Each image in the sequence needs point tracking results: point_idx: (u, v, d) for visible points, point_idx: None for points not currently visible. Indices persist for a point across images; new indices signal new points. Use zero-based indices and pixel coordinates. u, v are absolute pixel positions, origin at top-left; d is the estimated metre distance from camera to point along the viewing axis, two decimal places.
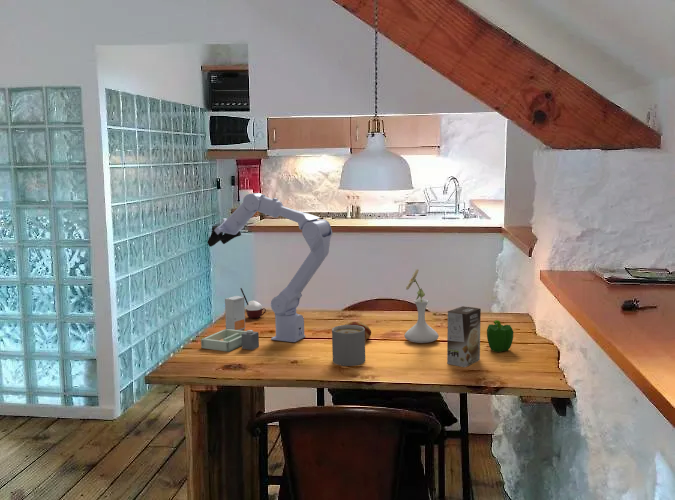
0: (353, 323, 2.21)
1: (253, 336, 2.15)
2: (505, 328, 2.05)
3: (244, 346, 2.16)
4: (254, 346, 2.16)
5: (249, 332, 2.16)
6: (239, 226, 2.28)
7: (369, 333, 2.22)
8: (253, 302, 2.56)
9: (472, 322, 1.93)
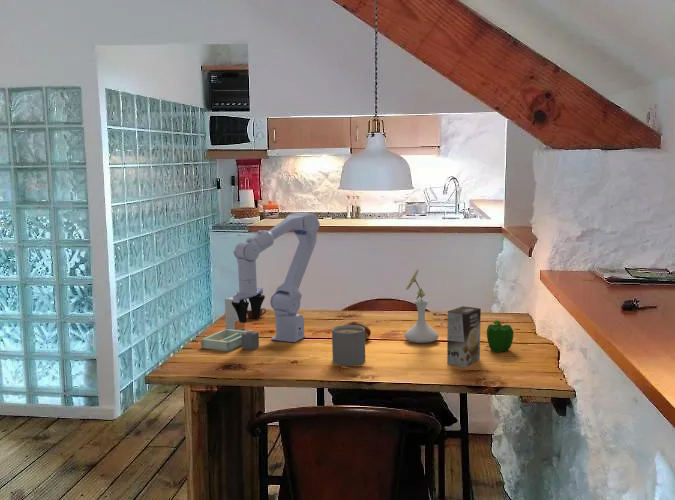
0: (353, 323, 2.21)
1: (253, 336, 2.15)
2: (505, 328, 2.05)
3: (244, 346, 2.16)
4: (254, 346, 2.16)
5: (249, 332, 2.16)
6: (252, 283, 2.12)
7: (369, 333, 2.22)
8: None
9: (472, 322, 1.93)
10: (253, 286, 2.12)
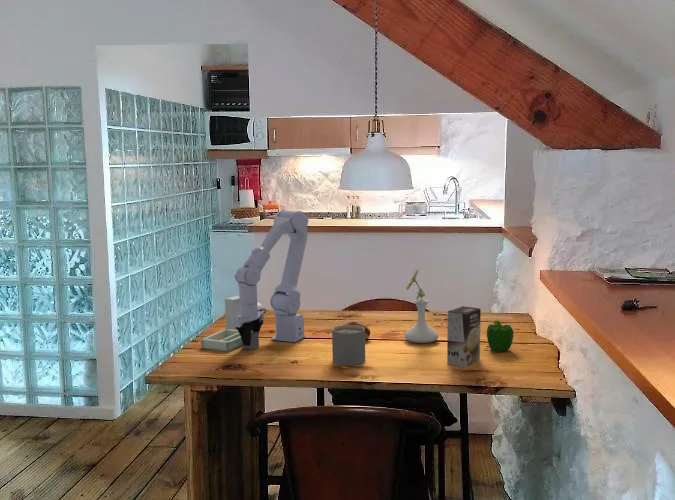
0: (352, 323, 2.22)
1: (253, 336, 2.15)
2: (505, 328, 2.05)
3: (244, 346, 2.16)
4: (254, 346, 2.16)
5: None
6: (253, 307, 2.13)
7: (368, 333, 2.22)
8: None
9: (472, 322, 1.93)
10: (254, 310, 2.14)
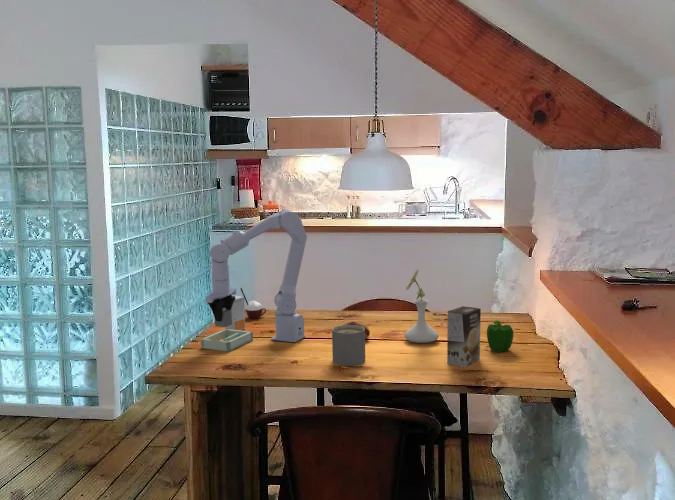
0: (351, 323, 2.22)
1: (225, 314, 2.19)
2: (505, 328, 2.05)
3: (217, 323, 2.20)
4: (227, 323, 2.20)
5: (222, 310, 2.20)
6: (225, 283, 2.17)
7: (367, 333, 2.22)
8: (253, 302, 2.56)
9: (472, 322, 1.93)
10: (226, 286, 2.18)
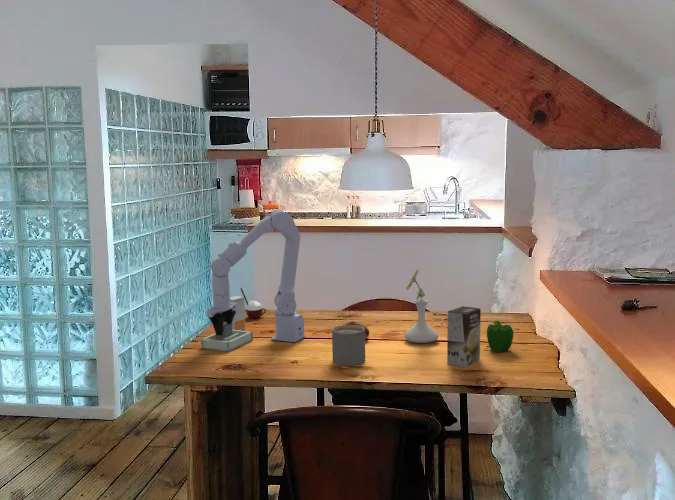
0: (351, 323, 2.22)
1: (226, 328, 2.20)
2: (505, 328, 2.05)
3: (218, 337, 2.21)
4: None
5: (223, 324, 2.20)
6: (225, 297, 2.18)
7: (367, 333, 2.22)
8: (253, 302, 2.56)
9: (472, 322, 1.93)
10: (226, 301, 2.19)
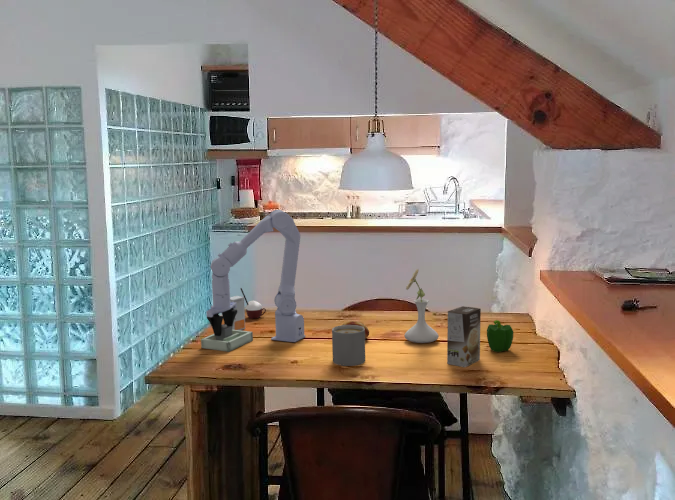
0: (351, 323, 2.22)
1: (226, 331, 2.20)
2: (505, 328, 2.05)
3: None
4: None
5: (223, 326, 2.21)
6: (225, 297, 2.18)
7: (367, 333, 2.22)
8: (253, 302, 2.56)
9: (472, 322, 1.93)
10: (226, 301, 2.19)
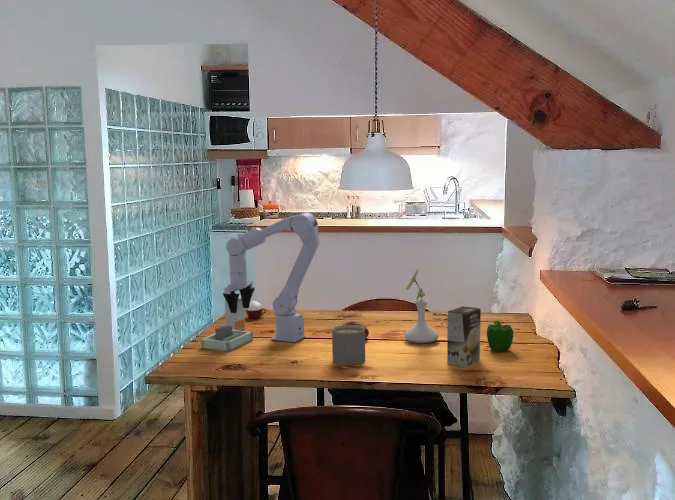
0: (350, 323, 2.22)
1: (226, 331, 2.20)
2: (505, 328, 2.05)
3: None
4: None
5: (223, 326, 2.21)
6: (242, 275, 2.25)
7: (366, 333, 2.22)
8: (253, 302, 2.56)
9: (472, 322, 1.93)
10: (243, 278, 2.26)
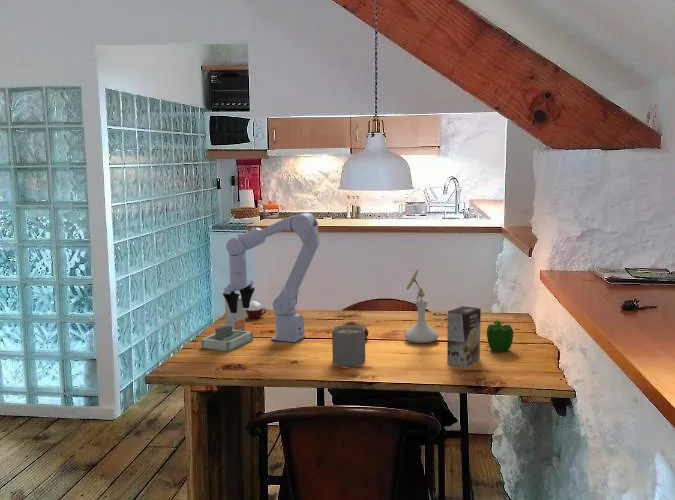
0: (350, 323, 2.22)
1: (226, 331, 2.20)
2: (505, 328, 2.05)
3: None
4: None
5: (223, 326, 2.21)
6: (242, 275, 2.25)
7: (366, 333, 2.22)
8: (253, 302, 2.56)
9: (472, 322, 1.93)
10: (243, 278, 2.26)
